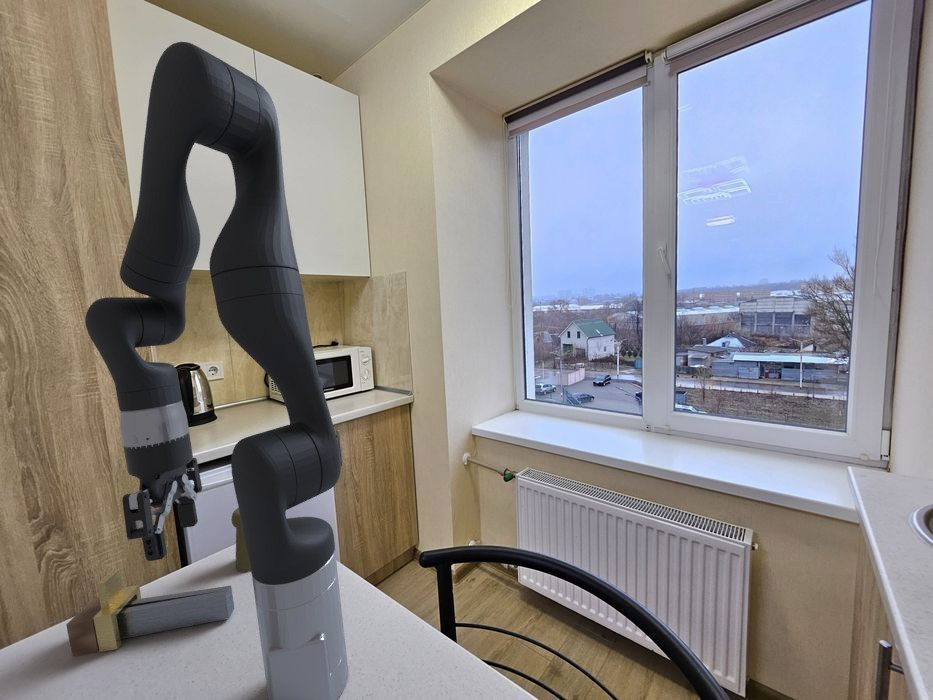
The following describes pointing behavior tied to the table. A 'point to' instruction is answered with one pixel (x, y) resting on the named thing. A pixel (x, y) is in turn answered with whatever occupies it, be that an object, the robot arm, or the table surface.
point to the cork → (240, 544)
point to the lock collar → (112, 609)
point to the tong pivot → (84, 630)
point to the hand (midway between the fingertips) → (174, 541)
